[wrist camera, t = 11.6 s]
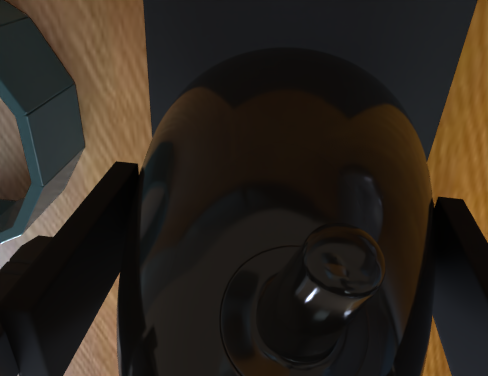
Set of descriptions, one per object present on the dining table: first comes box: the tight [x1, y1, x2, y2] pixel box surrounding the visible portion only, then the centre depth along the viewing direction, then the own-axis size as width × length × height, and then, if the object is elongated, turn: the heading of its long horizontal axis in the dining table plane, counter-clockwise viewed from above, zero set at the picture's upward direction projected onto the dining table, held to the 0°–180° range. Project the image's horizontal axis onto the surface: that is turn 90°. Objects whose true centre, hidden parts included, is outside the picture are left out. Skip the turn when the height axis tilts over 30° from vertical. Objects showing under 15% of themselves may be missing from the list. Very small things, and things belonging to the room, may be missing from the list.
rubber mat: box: [143, 0, 477, 161], centre depth 21 cm, size 22×14×1 cm, turn 177°
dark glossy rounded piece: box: [117, 47, 436, 376], centre depth 13 cm, size 10×10×15 cm
